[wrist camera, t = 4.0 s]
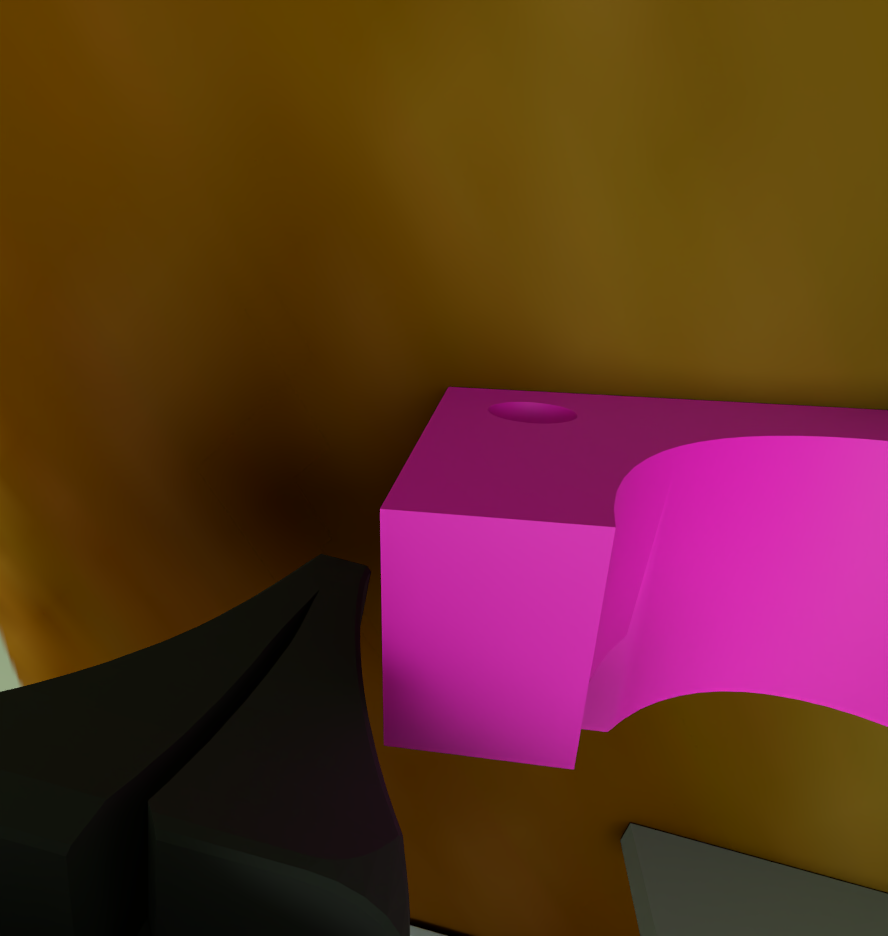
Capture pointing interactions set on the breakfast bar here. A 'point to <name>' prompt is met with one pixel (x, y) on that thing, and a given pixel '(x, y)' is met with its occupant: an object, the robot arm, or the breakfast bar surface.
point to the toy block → (627, 565)
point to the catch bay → (739, 893)
